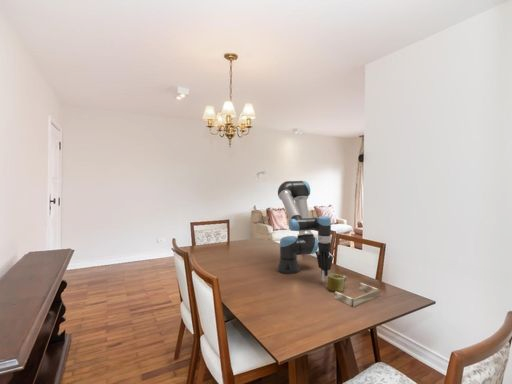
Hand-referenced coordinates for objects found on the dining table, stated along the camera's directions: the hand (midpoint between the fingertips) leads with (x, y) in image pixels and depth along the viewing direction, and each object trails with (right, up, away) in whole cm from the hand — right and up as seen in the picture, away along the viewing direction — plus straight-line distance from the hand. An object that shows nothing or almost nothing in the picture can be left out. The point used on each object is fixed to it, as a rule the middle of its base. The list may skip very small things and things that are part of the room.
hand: (324, 280), depth 169 cm
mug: (+6, -3, -8) cm, 11 cm away
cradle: (+13, -3, -19) cm, 23 cm away
